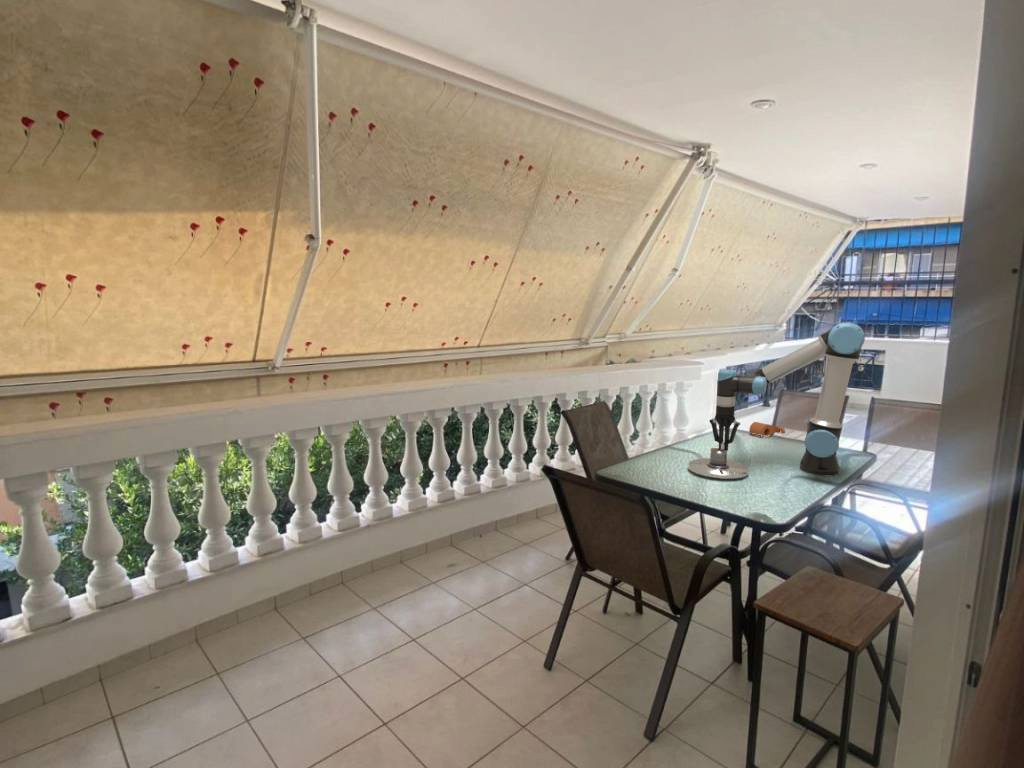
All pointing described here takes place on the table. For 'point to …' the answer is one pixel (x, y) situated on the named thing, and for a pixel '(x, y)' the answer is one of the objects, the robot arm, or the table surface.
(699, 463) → the turntable
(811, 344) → the robot arm
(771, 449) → the table surface
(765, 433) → the orange elongated piece
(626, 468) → the table surface
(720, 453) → the cover
